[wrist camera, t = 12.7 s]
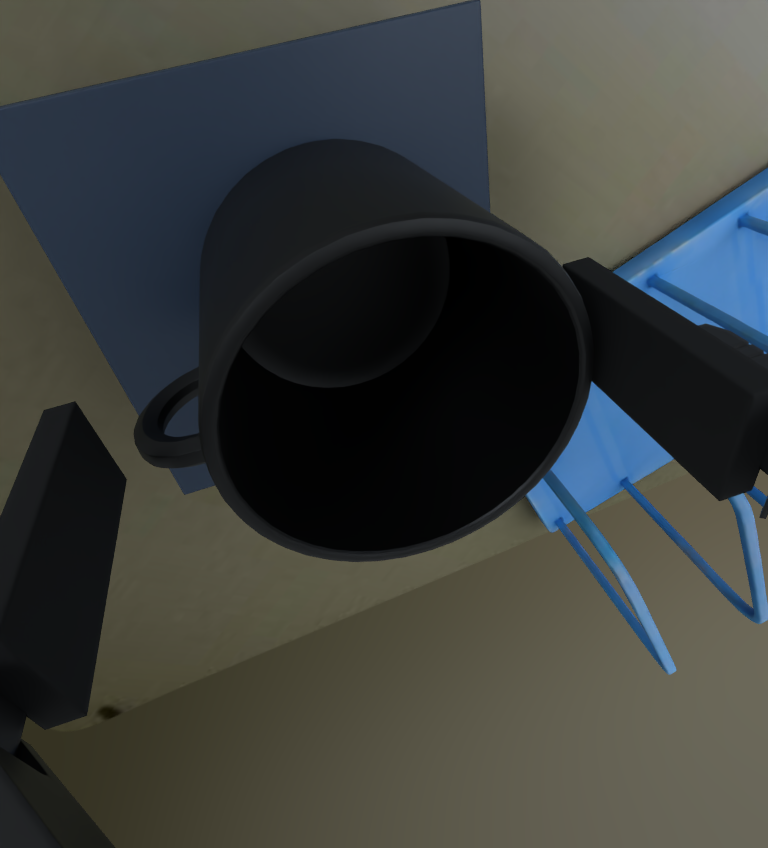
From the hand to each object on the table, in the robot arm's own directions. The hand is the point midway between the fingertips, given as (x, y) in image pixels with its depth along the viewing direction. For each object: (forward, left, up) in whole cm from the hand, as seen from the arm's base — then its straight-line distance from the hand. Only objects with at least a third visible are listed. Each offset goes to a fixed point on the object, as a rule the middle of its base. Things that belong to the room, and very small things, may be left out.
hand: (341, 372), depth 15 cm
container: (0, 0, -14) cm, 14 cm away
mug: (0, 0, -6) cm, 6 cm away
